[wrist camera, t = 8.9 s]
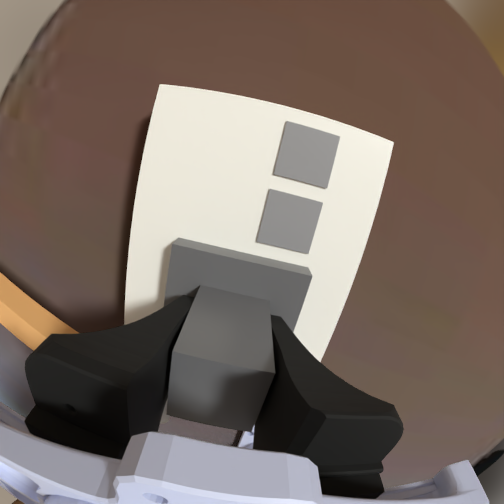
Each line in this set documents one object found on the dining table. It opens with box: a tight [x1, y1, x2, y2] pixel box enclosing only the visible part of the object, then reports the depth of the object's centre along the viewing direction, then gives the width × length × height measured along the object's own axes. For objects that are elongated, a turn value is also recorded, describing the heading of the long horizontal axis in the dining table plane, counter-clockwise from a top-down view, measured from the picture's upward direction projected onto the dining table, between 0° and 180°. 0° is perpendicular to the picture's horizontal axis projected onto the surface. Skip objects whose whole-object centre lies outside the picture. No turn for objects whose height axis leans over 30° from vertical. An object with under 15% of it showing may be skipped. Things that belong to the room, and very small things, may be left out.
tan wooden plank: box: [0, 273, 170, 424], centre depth 12 cm, size 15×2×3 cm, turn 60°
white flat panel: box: [124, 84, 394, 362], centre depth 14 cm, size 16×10×3 cm, turn 167°
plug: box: [164, 237, 312, 432], centre depth 11 cm, size 6×6×8 cm
